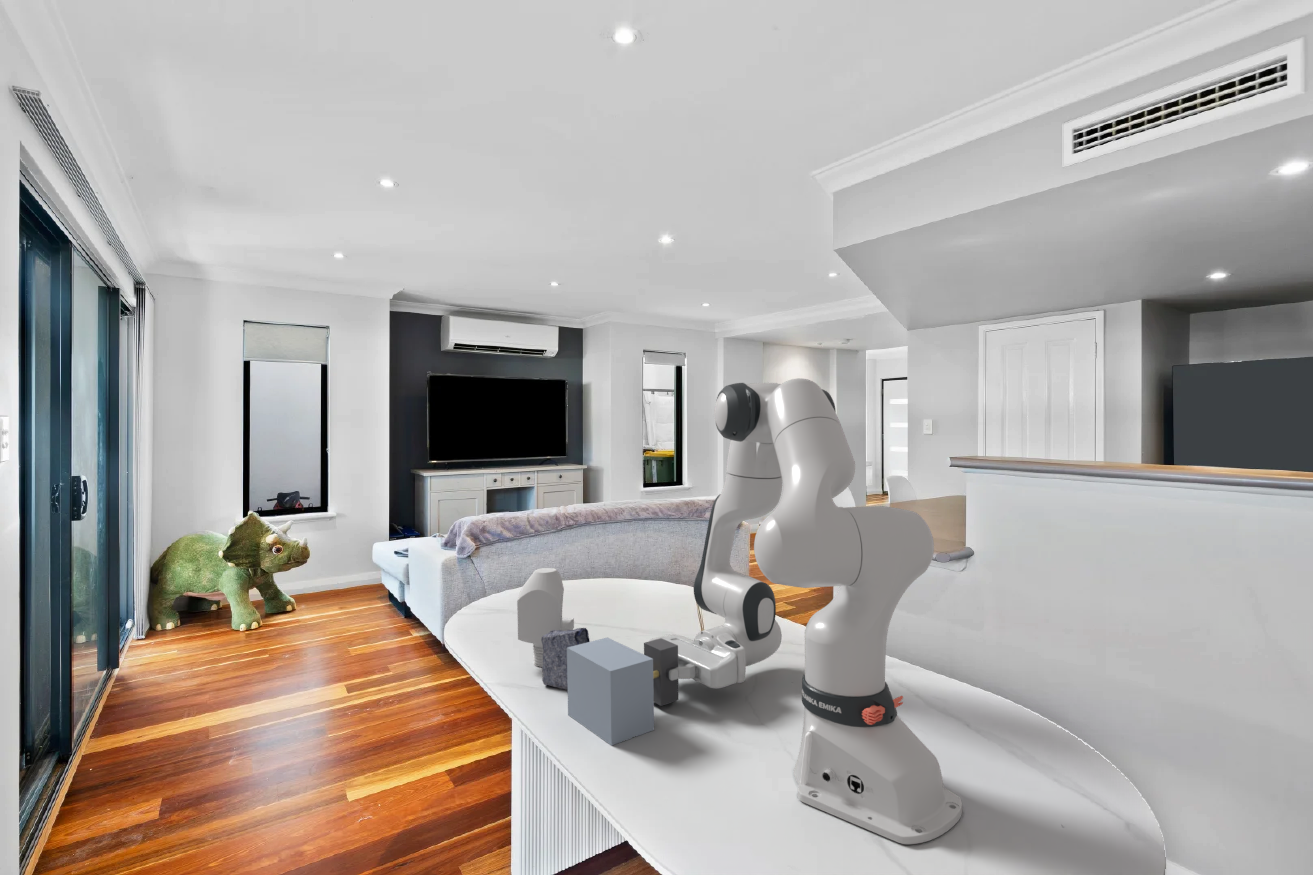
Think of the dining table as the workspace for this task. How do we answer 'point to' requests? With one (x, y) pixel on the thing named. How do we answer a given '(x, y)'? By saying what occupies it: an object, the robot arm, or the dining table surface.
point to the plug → (663, 669)
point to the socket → (610, 689)
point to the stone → (559, 654)
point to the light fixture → (541, 609)
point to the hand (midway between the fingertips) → (657, 669)
